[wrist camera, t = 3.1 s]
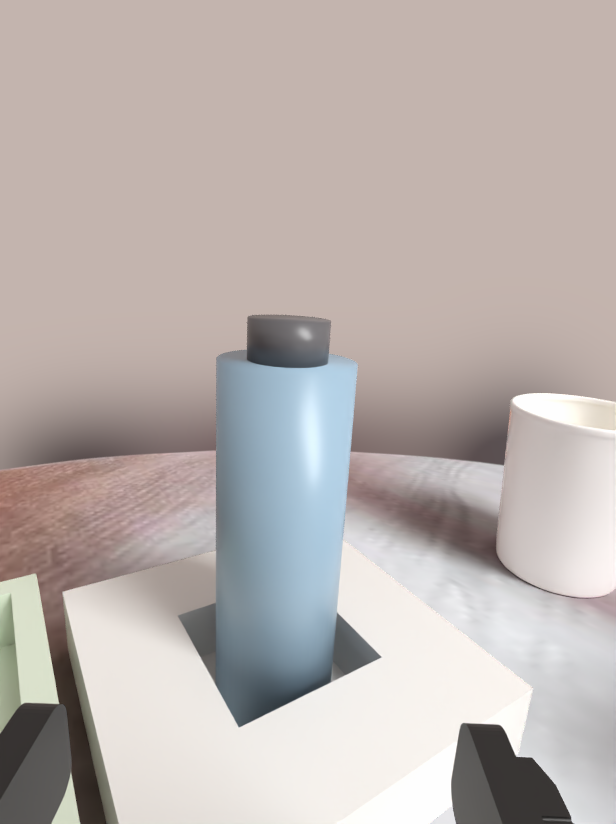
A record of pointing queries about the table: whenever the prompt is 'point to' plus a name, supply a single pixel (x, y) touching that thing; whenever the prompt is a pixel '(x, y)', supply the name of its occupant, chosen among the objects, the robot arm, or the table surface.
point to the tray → (27, 664)
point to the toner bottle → (279, 511)
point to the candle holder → (560, 494)
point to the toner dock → (286, 726)
